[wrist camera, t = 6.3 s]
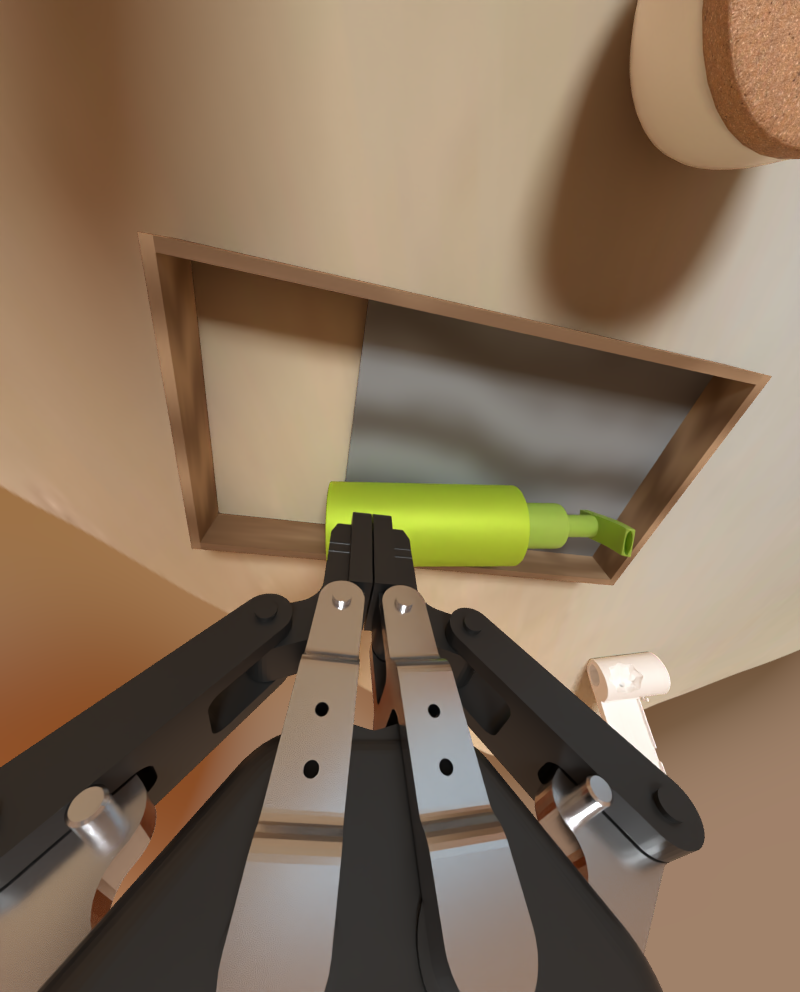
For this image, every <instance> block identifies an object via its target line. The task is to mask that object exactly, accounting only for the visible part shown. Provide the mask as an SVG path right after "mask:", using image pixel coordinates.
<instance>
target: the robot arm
mask: <svg viewBox="0 0 800 992" xmlns="http://www.w3.org/2000/svg"><path fill="white" fill-rule="evenodd" d="M363 625H364V630H368V631H372V642H371V646H370V651H369V654H370V667H371V679H372V691H373V703H374V721H373V730H369V729H366V728H363V727H359V726H356V725H353V723H354V712H355V704H356V693H357V684H358V674H359V648H360V639H361V630H362V629H363ZM294 674H297V675H296V679H295V683H294V687H293V691H292V695H291V699H290V703H289V706H288V710H287V714H286V718H285V722H284V726H283V730H282V733H281V735H279V736H276V737H274V738H272V739H271V740H269V741H267V742H265V743H264V744H262V745H261V746H260V747H258V748H257V749H256V750H254V751H253V752H252V753H251V754H250V755H249V756H247V757H246V758H245V759H244V760H243V761H242V762H241V763H240V764H239V765H238V767H237V768H236V769H235V770H234V771H233V772H232V773H231V774H230V775H229V777H228V778H227V779H226V780H225V781H224V782H223V783H222V784H221V786H220V787H219V788H218V789H217V790H216V791H215V792H214V793H213V795H212V796H211V797H210V798H209V799H208V800H207V801H206V803H204V805H203V806H202V807H201V808H200V809H199V810H198V811H197V813H196V814H195V815H194V816H193V817H192V818H191V819H190V821H188V823H187V824H186V825H185V826H184V827H183V828H182V829H181V830H180V832H179V833H178V834H177V835H176V836H175V837H174V839H172V841H171V842H170V843H169V844H168V845H167V846H166V847H165V848H164V850H163V851H162V852H161V853H160V854H159V855H158V856H157V857H156V859H155V860H154V861H153V862H152V863H151V864H150V865H149V866H148V868H147V869H146V870H145V871H144V872H143V873H142V874H141V875H140V876H139V878H138V879H137V880H136V881H135V882H134V883H133V884H132V885H131V887H130V888H129V889H128V890H127V891H126V892H125V893H124V894H123V896H122V897H121V898H120V899H119V900H118V901H117V902H116V903H115V904H114V906H113V907H112V908H111V905H112V902H113V899H114V897H115V894H116V892H117V890H118V888H119V886H120V884H121V882H122V880H123V879H124V877H125V876H126V875H127V873H128V872H129V870H130V869H131V868H132V867H133V865H134V864H135V863H136V862H137V860H138V859H139V858H140V857H141V855H142V854H143V852H144V851H145V849H146V848H147V846H148V844H149V842H150V840H151V837H152V835H153V832H154V829H155V825H156V809H155V805H156V804H157V803H158V802H159V801H160V800H161V799H162V798H163V797H165V795H166V794H168V792H170V791H171V790H172V789H173V788H174V787H175V786H176V785H177V784H178V783H179V782H180V781H181V780H182V779H183V778H184V777H185V776H186V775H187V774H188V773H189V772H190V771H192V770H193V769H194V767H196V766H197V765H198V764H199V763H200V762H201V761H202V760H203V759H204V758H205V757H206V756H207V755H208V754H209V753H210V752H211V751H212V750H213V749H214V748H215V747H216V746H217V745H219V743H221V742H222V741H223V740H224V739H225V738H226V737H227V736H228V735H229V734H230V733H231V732H232V731H233V730H234V729H235V728H236V727H237V726H238V725H239V724H240V723H241V722H242V721H243V720H244V719H245V718H247V717H248V716H249V715H250V714H251V713H252V712H253V711H254V710H255V709H256V708H257V707H258V706H259V705H260V704H261V703H262V702H263V701H264V700H265V699H266V698H267V697H268V696H269V695H270V694H271V693H272V692H274V691H275V689H277V688H278V687H279V685H281V684H282V683H283V682H284V681H285V679H286V678H287V676H290V675H294ZM468 726H469V727H470V729H471V730H472V731H473V732H474V733H475V734H476V735H477V737H478V738H479V739H480V740H481V741H482V742H483V743H484V744H485V746H486V747H487V748H488V749H489V750H490V751H491V752H492V754H493V755H494V756H495V757H496V758H497V759H498V760H499V761H500V763H501V764H502V765H503V766H504V767H505V768H506V769H507V771H508V772H509V773H510V774H511V775H512V776H513V777H514V778H515V780H516V781H517V782H518V783H519V784H520V785H521V786H522V788H523V789H524V790H525V791H526V792H527V793H528V794H529V796H530V797H531V798H532V799H533V800H534V801H535V811H536V816H537V819H538V820H537V819H536V818H535V817H534V816H533V814H532V813H531V812H530V811H529V810H528V808H527V807H526V806H525V805H524V803H523V802H522V801H521V800H520V799H519V797H518V796H517V795H516V794H515V792H514V791H513V790H512V789H511V788H510V786H509V785H508V784H507V783H506V782H505V780H504V779H503V778H502V776H501V775H500V774H499V773H498V772H497V771H496V769H495V768H494V767H493V766H492V764H491V763H490V762H489V761H488V760H487V759H486V757H485V756H484V755H483V754H482V753H481V752H480V751H479V750H478V749H477V748H475V747H474V746H473V743H472V739H471V736H470V732H469V729H468ZM704 838H705V837H704V828H703V824H702V821H701V818H700V816H699V814H698V812H697V810H696V808H695V806H694V805H693V803H692V802H691V800H690V799H689V797H688V796H687V795H686V794H685V793H684V791H683V790H682V789H681V788H680V787H679V786H678V785H677V784H676V783H675V782H674V781H673V780H672V779H670V778H669V777H668V776H667V775H666V774H665V773H664V772H662V771H661V770H660V769H659V768H658V767H657V766H656V765H654V764H653V763H652V762H651V761H650V760H649V759H648V758H646V757H645V756H644V755H643V754H642V753H641V752H640V751H638V750H637V749H636V748H635V747H634V746H633V745H632V744H630V743H629V742H628V741H627V740H626V739H625V738H624V737H622V736H621V735H620V734H619V733H618V732H617V731H616V730H614V729H613V728H612V727H611V726H610V725H609V724H608V723H606V722H605V721H604V720H603V719H602V718H601V717H600V716H598V715H597V714H596V713H595V712H594V711H593V710H592V709H590V708H589V707H588V706H587V705H586V704H585V703H584V702H582V701H581V700H580V699H579V698H578V697H577V696H576V695H574V694H573V693H572V692H571V691H570V690H569V689H568V688H566V687H565V686H564V685H563V684H562V683H561V682H560V681H558V680H557V679H556V678H555V677H554V676H553V675H552V674H550V673H549V672H548V671H547V670H546V669H545V668H544V667H542V666H541V665H540V664H539V663H538V662H537V661H536V660H534V659H533V658H532V657H531V656H530V655H529V654H528V653H526V652H525V651H524V650H523V649H522V648H521V647H520V646H518V645H517V644H516V643H515V642H514V641H513V640H512V639H510V638H509V637H508V636H507V635H506V634H505V633H504V632H502V631H501V630H500V629H499V628H498V627H497V626H496V625H494V624H493V623H492V622H491V621H490V620H489V619H488V618H486V617H485V616H484V615H483V614H481V613H480V612H478V611H476V610H474V609H470V608H460V609H457V610H455V611H454V612H453V613H452V615H451V614H448V613H445V612H442V611H440V610H437V609H435V608H433V607H431V606H429V605H428V604H427V603H425V601H424V599H423V597H422V595H421V594H420V593H419V592H418V590H417V585H416V578H415V572H414V565H413V559H412V552H411V546H410V539H409V538H408V536H407V535H406V534H405V532H404V531H403V530H398V529H393V527H392V517H391V516H387V515H378V514H373V515H372V514H369V513H360V512H353V514H352V521H351V525H350V524H341V523H338V524H337V525H336V526H335V527H334V529H333V530H332V531H331V536H330V543H329V550H328V557H327V564H326V570H325V577H324V583H323V586H322V588H321V589H320V591H319V592H318V593H317V594H315V595H314V596H313V597H311V598H309V599H306V600H303V601H298V602H293V603H290V602H289V601H288V600H287V599H286V598H284V597H283V596H280V595H277V594H263V595H259V596H256V597H254V598H252V599H251V600H249V601H247V602H246V603H245V604H243V605H242V606H240V607H239V608H237V609H236V610H234V611H233V612H231V613H230V614H228V615H227V616H225V617H224V618H222V619H221V620H219V621H218V622H216V623H215V624H213V625H212V626H210V627H209V628H208V629H206V630H204V631H203V632H201V633H200V634H198V635H197V636H195V637H194V638H192V639H191V640H189V641H188V642H186V643H185V644H183V645H182V646H181V647H179V648H178V649H176V650H175V651H173V652H172V653H170V654H169V655H167V656H166V657H164V658H163V659H161V660H160V661H158V662H157V663H155V664H154V665H152V666H151V667H149V668H148V669H146V670H145V671H143V672H142V673H140V674H139V675H137V676H136V677H134V678H133V679H131V680H130V681H128V682H127V683H125V684H124V685H123V686H121V687H120V688H118V689H116V690H115V691H114V692H112V693H111V694H109V695H108V696H106V697H105V698H103V699H102V700H100V701H99V702H97V703H96V704H94V705H93V706H91V707H90V708H88V709H87V710H85V711H84V712H82V713H81V714H80V715H78V716H76V717H75V718H73V719H72V720H71V721H69V722H67V723H66V724H64V725H63V726H61V727H60V728H58V729H57V730H55V731H54V732H52V733H51V734H49V735H48V736H46V737H45V738H44V739H42V740H41V741H39V742H38V743H36V744H35V745H33V746H32V747H30V748H29V749H27V750H26V751H24V752H23V753H21V754H20V755H18V756H17V757H15V758H14V759H12V760H11V761H9V762H8V763H6V764H5V765H3V766H2V767H0V992H663V991H662V988H661V986H660V984H659V982H658V980H657V978H656V975H655V974H654V972H653V970H652V968H651V966H650V965H649V963H648V961H647V959H646V957H645V956H644V952H645V947H646V943H647V939H648V935H649V930H650V926H651V921H652V917H653V913H654V909H655V904H656V900H657V896H658V891H659V887H660V883H661V878H662V874H663V870H664V866H665V865H666V864H667V863H669V862H671V861H673V860H676V859H678V858H680V857H683V856H685V855H687V854H690V853H692V852H694V851H697V850H699V849H700V848H701V847H702V845H703V843H704ZM110 908H111V909H110Z"/></svg>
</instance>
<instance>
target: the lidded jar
mask: <svg viewBox="0 0 800 992" xmlns="http://www.w3.org/2000/svg"><path fill="white" fill-rule="evenodd" d="M630 81H631V91H632V97H633V102H634V106H635V110H636V113H637V116H638V118H639V120H640V123H641V125H642V127H643V129H644V131H645V133H646V134H647V136H648V137H649V139H650V140H651V142H652V143H653V145H655V146H656V147H657V148H658V149H659V150H660V151H661V152H662V153H663V154H664V155H666V156H668V157H670V158H672V159H674V160H676V161H678V162H680V163H682V164H684V165H687V166H691V167H696V168H700V169H712V170H726V169H742V168H752V167H757V166H762V165H766V164H771V163H776V162H780V161H784V160H788V159H800V0H638V3H637V7H636V12H635V16H634V23H633V31H632V39H631V48H630Z"/></svg>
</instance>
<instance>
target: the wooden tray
mask: <svg viewBox="0 0 800 992" xmlns="http://www.w3.org/2000/svg"><path fill="white" fill-rule="evenodd" d="M137 234H138V239H139V245H140V251H141V257H142V263H143V268H144V274H145V280H146V286H147V292H148V297H149V303H150V309H151V315H152V321H153V326H154V332H155V338H156V344H157V350H158V355H159V361H160V367H161V373H162V379H163V384H164V390H165V396H166V402H167V408H168V414H169V419H170V425H171V431H172V437H173V443H174V448H175V454H176V460H177V466H178V472H179V477H180V483H181V489H182V495H183V501H184V506H185V512H186V518H187V524H188V530H189V535H190V541H191V547H192V549H204V550H215V551H226V552H238V553H249V554H261V555H272V556H284V557H295V558H307V559H318V560H327V559H326V544H325V526H326V524H316V523H307V522H297V521H288V520H278V519H269V518H259V517H250V516H240V515H231V514H221V513H218V505H217V495H216V486H215V477H214V468H213V459H212V450H211V440H210V431H209V422H208V413H207V404H206V394H205V385H204V376H203V367H202V358H201V349H200V339H199V330H198V321H197V312H196V303H195V293H194V284H193V275H192V266H191V260H193V261H198V262H202V263H207V264H211V265H216V266H221V267H225V268H230V269H234V270H239V271H243V272H248V273H252V274H257V275H261V276H266V277H270V278H275V279H279V280H284V281H288V282H293V283H298V284H302V285H307V286H311V287H316V288H320V289H325V290H329V291H334V292H338V293H343V294H347V295H352V296H356V297H361V298H365V299H369V301H368V309H367V316H366V324H365V332H364V340H363V347H362V355H361V363H360V371H359V379H358V386H357V394H356V402H355V410H354V418H353V425H352V433H351V441H350V449H349V456H348V464H347V472H346V480H345V482H380V483H426V484H472V485H513V486H516V487H517V488H518V489H519V490H520V491H521V492H522V494H523V496H524V498H525V500H526V503H557V504H560V505H561V506H562V507H563V508H564V509H565V511H566V513H567V515H580V510H589V511H592V512H595V513H598V514H601V515H604V516H607V517H609V518H612V519H615V520H617V521H619V522H622V523H624V524H626V525H628V526H630V527H631V528H633V529H635V536H634V541H633V547H632V552H631V557H626V556H622V555H620V554H618V553H617V552H615V551H614V550H612V549H610V548H609V547H607V546H605V545H603V544H601V543H599V542H596V541H594V540H592V539H590V538H588V537H568V539H567V541H566V543H565V544H564V545H563V546H562V547H561V548H557V549H527V551H526V554H525V556H524V558H523V560H522V561H521V562H520V563H519V564H518V565H516V566H441V567H414V568H421V569H432V570H444V571H455V572H467V573H478V574H490V575H501V576H513V577H524V578H535V579H547V580H558V581H570V582H581V583H593V584H604V585H614V584H615V582H616V581H617V580H618V578H619V577H620V576H621V574H622V573H623V572H624V570H625V569H626V568H627V566H628V565H629V564H630V562H631V561H632V560H633V559H634V557H635V556H636V555H637V553H638V552H639V551H640V549H641V548H642V547H643V545H644V544H645V543H646V541H647V540H648V539H649V537H650V536H651V535H652V534H653V532H654V531H655V530H656V528H657V527H658V526H659V524H660V523H661V522H662V520H663V519H664V518H665V516H666V515H667V514H668V512H669V511H670V510H671V509H672V507H673V506H674V505H675V503H676V502H677V501H678V499H679V498H680V497H681V495H682V494H683V493H684V491H685V490H686V489H687V487H688V486H689V485H690V484H691V482H692V481H693V480H694V478H695V477H696V476H697V474H698V473H699V472H700V470H701V469H702V468H703V466H704V465H705V464H706V463H707V461H708V460H709V459H710V457H711V456H712V455H713V453H714V452H715V451H716V449H717V448H718V447H719V445H720V444H721V443H722V441H723V440H724V439H725V438H726V436H727V435H728V434H729V432H730V431H731V430H732V428H733V427H734V426H735V424H736V423H737V422H738V420H739V419H740V418H741V416H742V415H743V414H744V413H745V411H746V410H747V409H748V407H749V406H750V405H751V403H752V402H753V401H754V399H755V398H756V397H757V395H758V394H759V393H760V391H761V390H762V389H763V388H764V386H765V385H766V384H767V382H768V381H769V380H770V378H771V377H772V376H768V375H764V374H760V373H756V372H752V371H749V370H745V369H741V368H737V367H733V366H729V365H725V364H721V363H717V362H713V361H708V360H704V359H700V358H695V357H691V356H687V355H682V354H678V353H673V352H669V351H665V350H660V349H656V348H652V347H647V346H643V345H639V344H634V343H630V342H626V341H621V340H617V339H612V338H608V337H604V336H599V335H595V334H591V333H586V332H582V331H578V330H573V329H569V328H564V327H560V326H556V325H551V324H547V323H543V322H538V321H534V320H530V319H525V318H521V317H516V316H512V315H508V314H503V313H499V312H495V311H490V310H486V309H482V308H477V307H473V306H468V305H464V304H460V303H455V302H451V301H447V300H442V299H438V298H434V297H429V296H425V295H420V294H416V293H412V292H407V291H403V290H399V289H394V288H390V287H386V286H381V285H377V284H372V283H368V282H364V281H359V280H355V279H351V278H346V277H342V276H338V275H333V274H329V273H325V272H320V271H316V270H311V269H307V268H303V267H298V266H294V265H290V264H285V263H281V262H277V261H272V260H268V259H263V258H259V257H255V256H250V255H246V254H242V253H237V252H233V251H229V250H224V249H220V248H215V247H211V246H207V245H202V244H198V243H194V242H189V241H185V240H181V239H176V238H171V237H165V236H159V235H154V234H148V233H142V232H137Z"/></svg>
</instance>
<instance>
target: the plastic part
mask: <svg viewBox="0 0 800 992" xmlns="http://www.w3.org/2000/svg"><path fill="white" fill-rule="evenodd" d="M587 673H588V677H589V680H590V683H591V686H592V689H593V692H594V695H595V698H596V702H597V705H598V708H599V711H600V714H601V717H602V719H603V720H604V721H605V722H606V723H608V724H609V725H610V726H611V727H612V728H613V729H614V730H616V731H617V732H618V733H619V734H620V735H621V736H622V737H624V738H625V739H626V740H627V741H628V742H629V743H630V744H632V745H633V746H634V747H635V748H636V749H637V750H638V751H640V752H641V753H642V754H643V755H644V756H645V757H646V758H648V759H649V760H650V761H651V762H652V763H653V764H654V765H656V766H657V767H658V768H659V769H660V770H661V771H662V772H664V773H665V770H664V767H663V764H662V762H660V761H659V760H658V757H657V754H656V751H655V748H657V747H656V744H655V742H654V739H653V736H652V733H651V730H650V727H649V724H648V722H647V719H646V716H645V713H644V710H643V707H642V705H641V702H640V699H639V697H641V700H643V701H646V702H649V698H646V699H647V700H646V699H645V696H653V695H661V694H666V693H667V692H668V691H669V689H670V685H671V683H670V677H669V674H668V671H667V669H666V667H665V666H664V664H663V663H662V661H661V660H660V659H659V658H658V657H657V656H656V655H655V654H653V653H651V652H643V653H635V654H627V655H619V656H611V657H603V658H595V659H590V660H589V662H588V665H587ZM665 774H666V773H665Z"/></svg>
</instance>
